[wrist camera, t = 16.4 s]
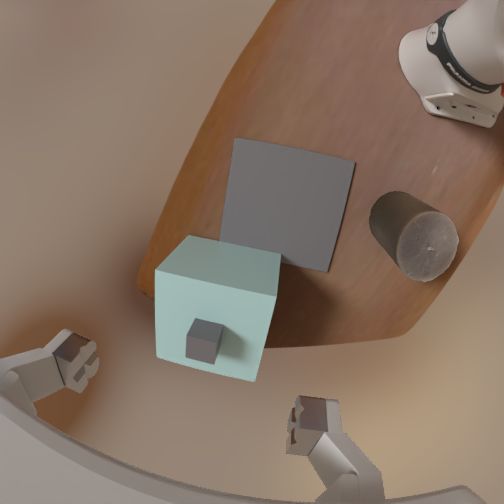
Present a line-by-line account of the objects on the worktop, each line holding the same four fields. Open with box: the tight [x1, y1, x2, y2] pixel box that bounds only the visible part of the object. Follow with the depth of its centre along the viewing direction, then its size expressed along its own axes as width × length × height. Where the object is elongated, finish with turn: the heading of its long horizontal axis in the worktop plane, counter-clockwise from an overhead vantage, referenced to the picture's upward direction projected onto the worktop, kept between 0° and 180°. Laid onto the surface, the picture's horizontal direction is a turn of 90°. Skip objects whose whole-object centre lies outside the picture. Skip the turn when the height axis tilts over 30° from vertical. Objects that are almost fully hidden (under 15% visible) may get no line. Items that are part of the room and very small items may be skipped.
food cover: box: [155, 235, 281, 382], centre depth 44 cm, size 16×16×18 cm
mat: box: [219, 137, 355, 272], centre depth 46 cm, size 19×19×1 cm
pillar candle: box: [369, 191, 459, 282], centre depth 38 cm, size 10×10×15 cm
